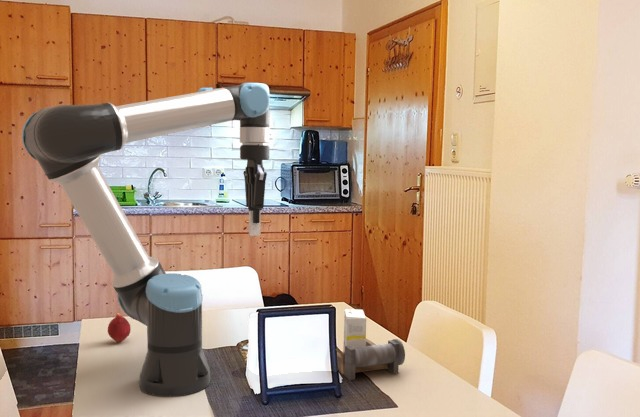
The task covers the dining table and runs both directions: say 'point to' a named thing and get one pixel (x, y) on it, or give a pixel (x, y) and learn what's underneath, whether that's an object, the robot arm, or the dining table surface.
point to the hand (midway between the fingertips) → (254, 235)
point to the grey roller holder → (371, 358)
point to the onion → (119, 328)
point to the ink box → (354, 328)
